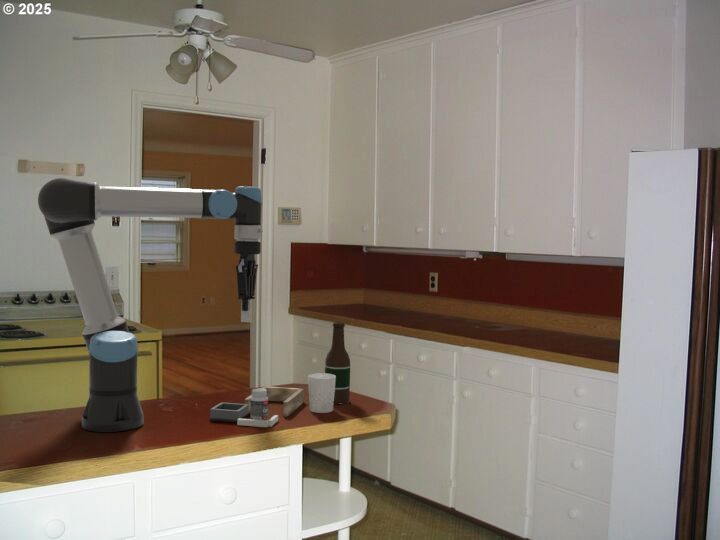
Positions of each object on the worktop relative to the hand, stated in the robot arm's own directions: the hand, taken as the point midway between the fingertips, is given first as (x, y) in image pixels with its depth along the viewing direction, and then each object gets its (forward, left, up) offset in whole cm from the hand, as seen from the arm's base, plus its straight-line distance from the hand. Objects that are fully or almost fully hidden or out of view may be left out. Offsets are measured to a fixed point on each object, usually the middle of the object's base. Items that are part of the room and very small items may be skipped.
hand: (246, 321), depth 211 cm
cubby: (+10, -1, -24) cm, 26 cm away
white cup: (+23, 0, -25) cm, 34 cm away
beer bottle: (+25, +12, -25) cm, 37 cm away
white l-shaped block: (+10, -18, -24) cm, 32 cm away
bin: (+1, -15, -24) cm, 29 cm away
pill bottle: (+10, -16, -25) cm, 31 cm away
